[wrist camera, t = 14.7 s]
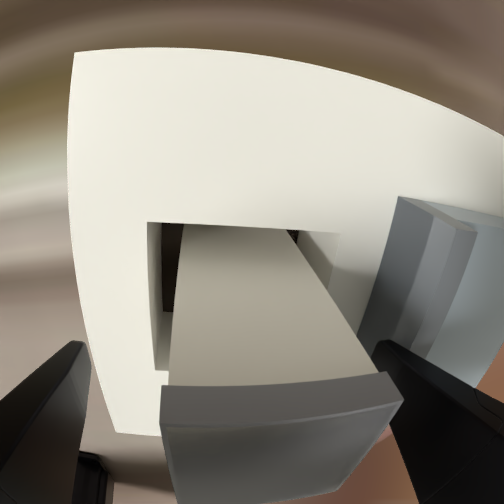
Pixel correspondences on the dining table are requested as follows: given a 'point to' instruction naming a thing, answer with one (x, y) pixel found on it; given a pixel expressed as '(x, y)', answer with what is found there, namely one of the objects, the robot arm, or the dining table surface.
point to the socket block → (242, 184)
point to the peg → (263, 375)
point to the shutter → (440, 288)
